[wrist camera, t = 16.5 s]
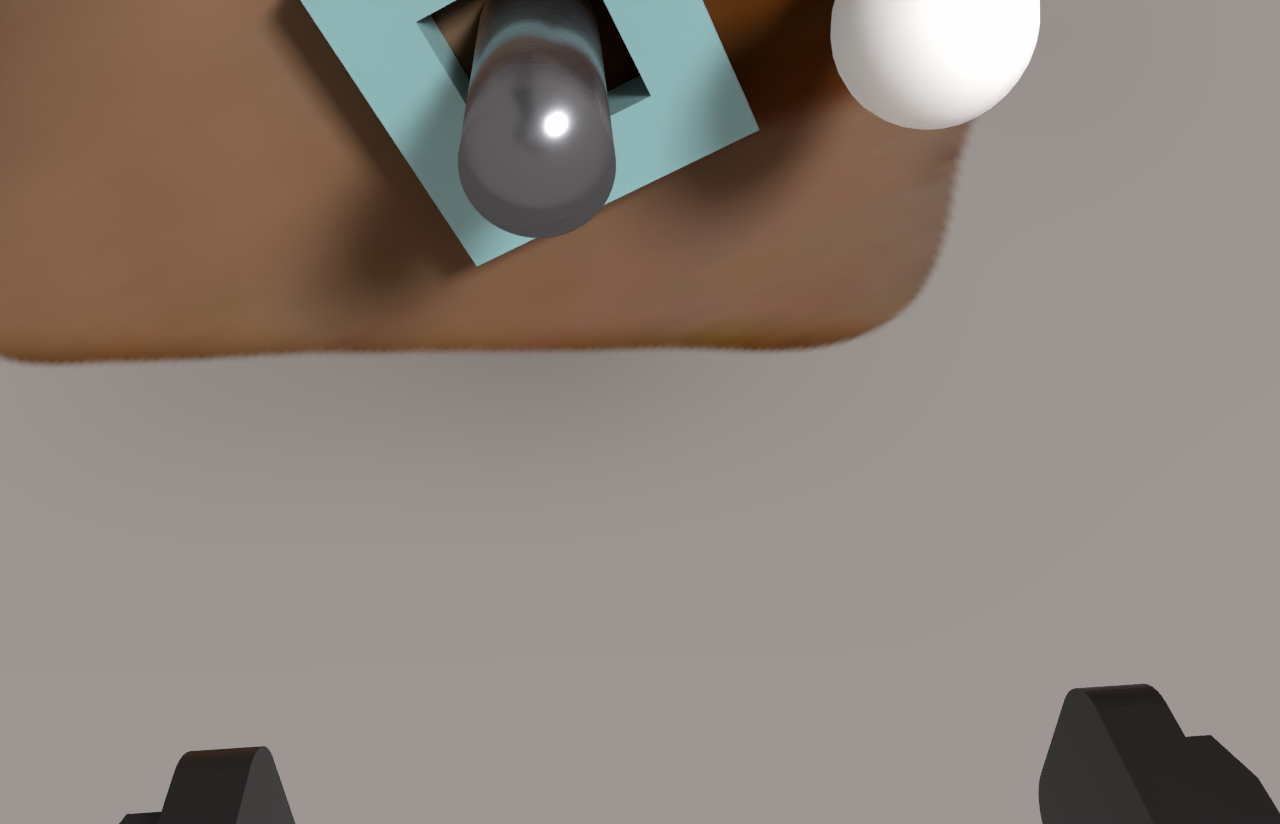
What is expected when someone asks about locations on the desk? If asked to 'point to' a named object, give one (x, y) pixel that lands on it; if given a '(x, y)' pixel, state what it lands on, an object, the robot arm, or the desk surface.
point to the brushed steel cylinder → (537, 118)
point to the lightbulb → (932, 56)
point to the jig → (639, 109)
